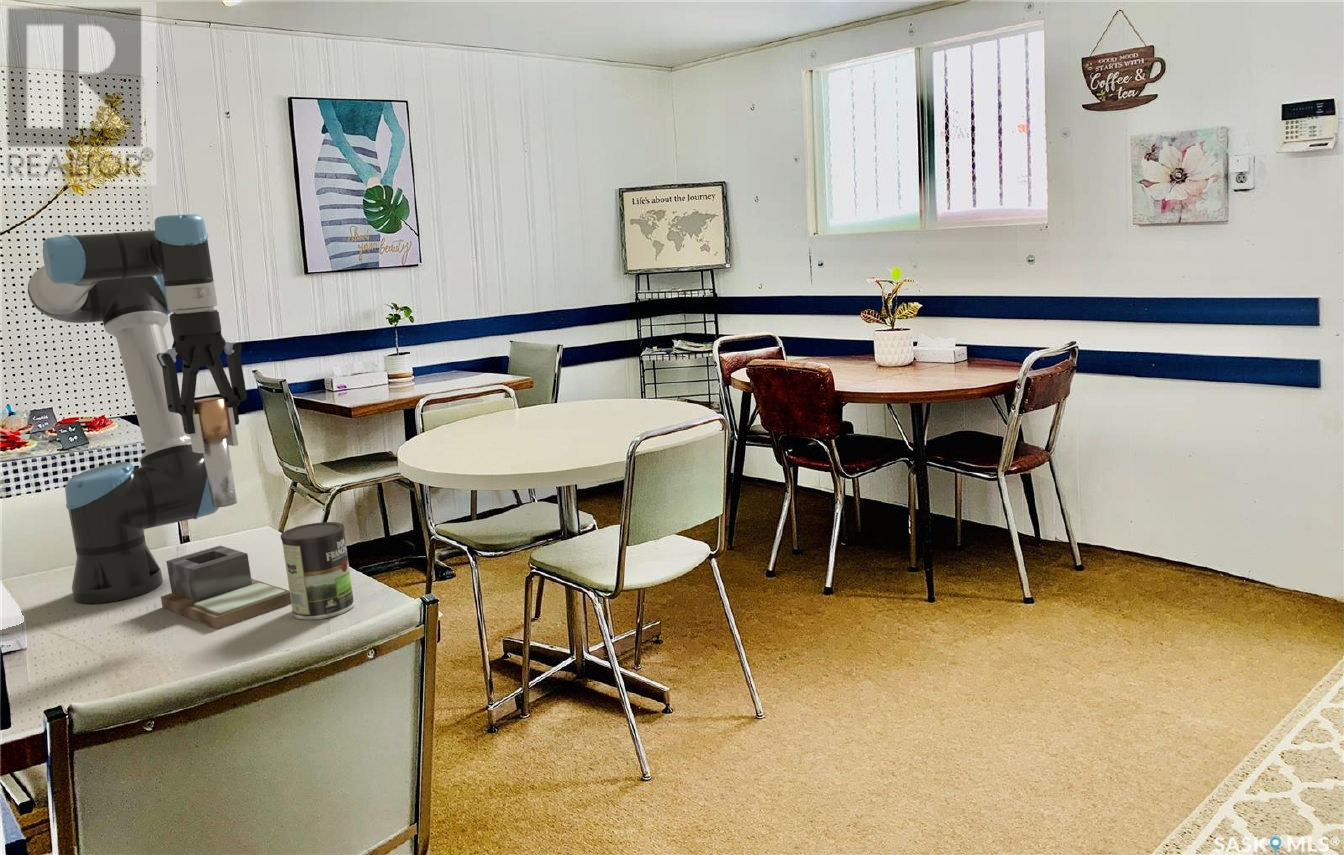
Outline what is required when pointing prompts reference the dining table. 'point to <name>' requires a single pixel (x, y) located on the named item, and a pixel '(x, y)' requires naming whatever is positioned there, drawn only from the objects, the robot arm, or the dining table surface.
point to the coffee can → (318, 570)
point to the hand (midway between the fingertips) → (215, 448)
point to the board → (219, 588)
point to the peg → (216, 450)
